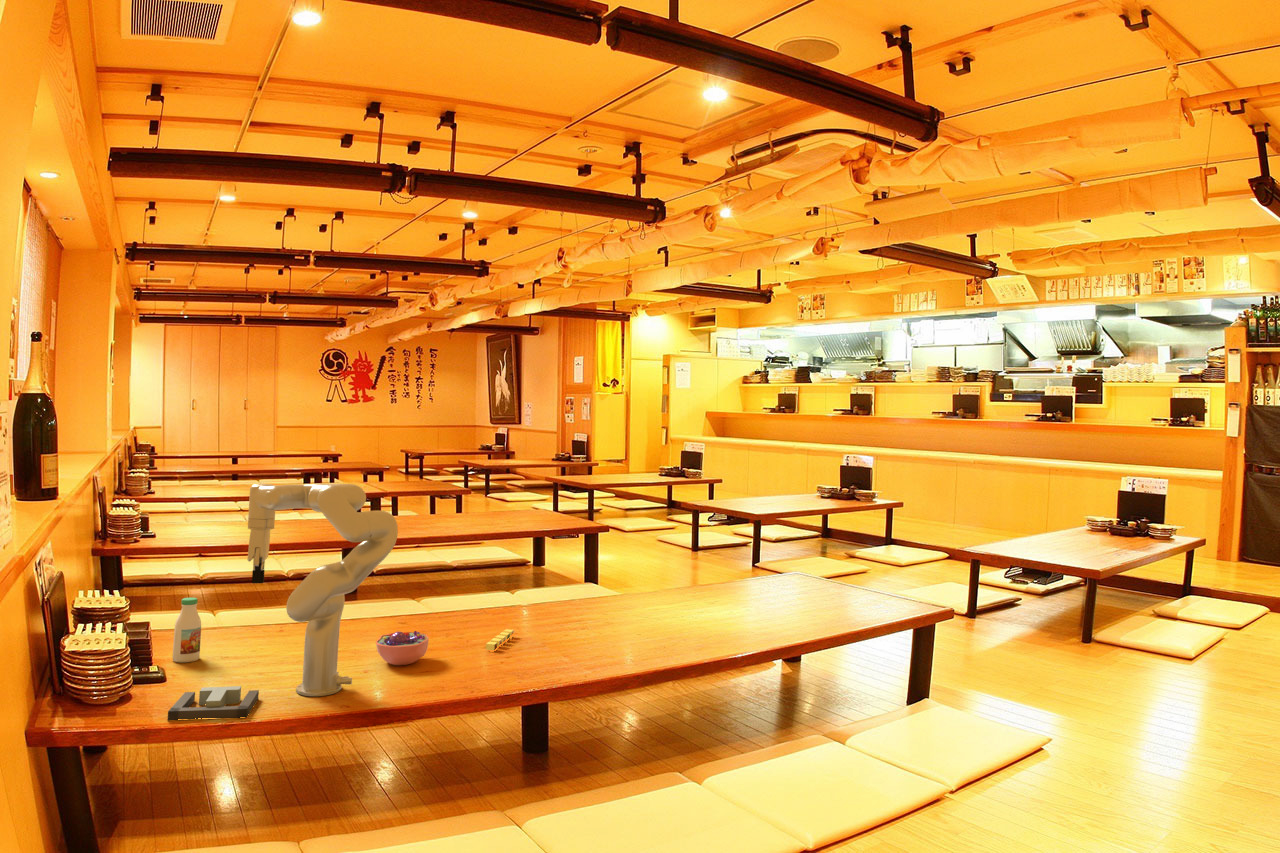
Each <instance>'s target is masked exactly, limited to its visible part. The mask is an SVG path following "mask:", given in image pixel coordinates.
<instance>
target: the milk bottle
mask: <svg viewBox="0 0 1280 853" xmlns="http://www.w3.org/2000/svg"><path fill="white" fill-rule="evenodd" d="M198 599H199V598H197V597H184V598H182V599H181V610H180V612H179V614H178V616H177V618H176V621H175V624H174V633H173V646H172V661H173V662H175V663H192V662H195V661H198V660H199V658H200V656H201V655H200V654H201V641H202V640H201V638H202V637H201V636H202V620H201V617H200V615H199V613H198V608H197V606H198Z"/></svg>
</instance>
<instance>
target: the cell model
mask: <svg viewBox="0 0 1280 853" xmlns="http://www.w3.org/2000/svg"><path fill="white" fill-rule="evenodd" d="M429 639H430V638H429V636H428V635H427V634H426V633H421V632H419V631H416V630H415V631H413V632H412V631H411V632H410V631H409V632H403V631H398V630H397V631H395V632H391V633H386V634H382V635H380V636H379V638H378V639H377V640H376V641H375V644H376V650H377V651H376V652H377V653H378V655H379V656H380V657H381V658H382V659H383V661H385V662H387V663H388V664H390V665H392V666H406V665H410V664H413V663H415V662H417V661H418V660H420V659H421V658H423V657H424V656H425V654H426V653H427V651H428V647H429Z"/></svg>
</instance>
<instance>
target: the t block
mask: <svg viewBox="0 0 1280 853" xmlns="http://www.w3.org/2000/svg"><path fill="white" fill-rule="evenodd" d="M241 693H242V686H241V685H237V686H236V685H235V686H212V687H211V686H210V687H209V686H206V687H201V688H200V690H199V696H198V706H204V707H222V706H226V705H234V704H233V703H235V704H236V703H239V704H240V702H241V696H242V694H241ZM239 701H240V702H239ZM205 704H206V705H205ZM225 704H226V705H225Z"/></svg>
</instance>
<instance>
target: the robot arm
mask: <svg viewBox="0 0 1280 853" xmlns="http://www.w3.org/2000/svg"><path fill="white" fill-rule="evenodd" d="M248 498H249V501H248V519H247V530H250V533H249V534H250V535H249V541H248V549H247V550H248V551H247V561H248V562H251V561H252V560H253V562H252V566H253V567H252V571H251V572H252V575H251V576H252V577H251V583H252V584H263V583H264V582H265V564H266V563H265V562H266V560H267V559H268V557H269V552H270V540H271V530H274V529H275V522H276V521H275V519H276V511H283V510H291V509H292V510H293V509H294V510H295V509H311V510H312V511H314V512H316V513H322V514H323V516H324V517H325V518H326V519H327V521H328V522H329V523H330V524H331V526H333V527H334V529H335V530H336V532H338V533H339V535H340V536H341V538H343V539H345V540H346V541H348V542H350V543H359V544H357V546H355V547H354V548H353V549H352V550H351V551H350V552H349V553H348V554H347V555H346V556H345V557H344V558H343V559H342V560H340V561H337V562H333V563H329V564H323V565H320V566H318V567H317V568H314V570H313V569H312V571H311V572H310V573H309V574H308V575H307V576H306V577H305V578H304V579H303V580H302V581H301V582H300V583H299V584H298V585H297V587H295V588H294V590H293V591H292V592H291V594H290V595H289V596H288V599H287V602H286V606H285V608H286V614H287V615H288V617H289V618H290V619H291V620H293V621H294V622H298V623H305V622H307V625H306V628H305V634H304V635H305V636H304V648H303V649H304V650H303V667H302V682H301V683H299V684H298V685H297V686H296V688H295V690H296V691H295V692H296V693H297V694H298V695H301V696H306V697H324V696H330V695H333V694H337V693H338V692H340V691H341V690H342V685H352V684H353V677H349V676H348V675H345V676H341V675H339V674H340V673H339V671H338V661H339V660H338V659H339V658H338V657H339V645H340V644H339V642H340V641H339V640H340V629H341V628H340V627H341V620H342V615H343V611H344V608H345V600H346V599H345V598H346V597H345V595H347V594H349V593H352V592H354V591H355V590H356V589H357V588H358V587H359V586H360V585H361V583H362V582H364V581H365V580H366V579H367V578H368V576H369V575H371V574H372V572H373V571H374V570H375V569H376V568H377V567H378V566H379V565H380V564H382V562H383V561H384V560H385V558H387V557H388V555H389V554H390V553H391V552H392V550H393V549H394V548H395V547H394V546H396V543H397V539H398V536H399V535H398V533H399V530H398V529H399V527H398V523H397V519H396V518H395V516H394V515H393V514H391V513H390V512H389V511H385V510H379V509H378V510H377V509H376V510H367V511H360V512H359V510H361V509H362V508H363V507H364V506H365V504H366V501H367V493H366V492H365V490H364V489H363V488H362V487H361V486H359V485H356V484H355V483H352V484H351V483H316V484H299V483H298V484H282V485H280V484H279V485H275V484H271V483H256V484H252V485H251V486H250V488H249V497H248Z"/></svg>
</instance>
